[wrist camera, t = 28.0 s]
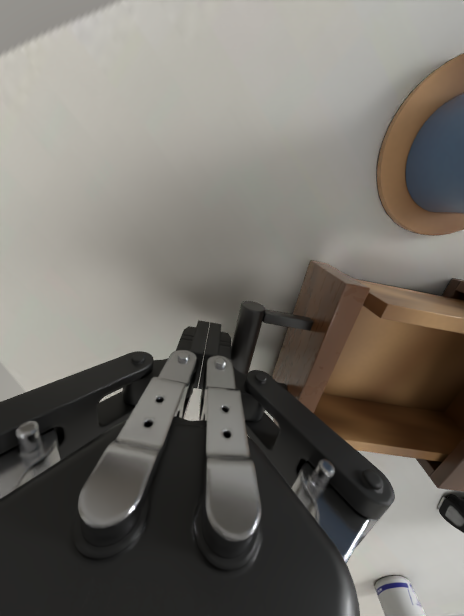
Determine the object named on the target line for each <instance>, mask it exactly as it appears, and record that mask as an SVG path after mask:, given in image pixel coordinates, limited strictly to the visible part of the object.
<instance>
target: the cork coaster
mask: <svg viewBox="0 0 464 616" xmlns="http://www.w3.org/2000/svg"><path fill="white" fill-rule="evenodd" d="M463 92H464V53H463V54H461V55H459V56H457V57H455V58H454V59H452V60H450V61H448V62H447V63H445V64H444V65H442V66H441V67H439V68H438V69H437V70H435V71H434V72H432V73H431V74H430V75H429V76H428V77H426V78H425V79H424V80H423V81H422V82H421V83H420V84H419V85H418V86H417V87H416V88H415V89H414V90H413V91H412V92H411V93H410V95H409V96H408V97H407V99H406V100H405V101H404V102H403V104H402V105H401V107H400V108H399V110H398V111H397V113H396V115H395V116H394V118H393V120H392V122H391V124H390V126H389V128H388V130H387V133H386V135H385V138H384V140H383V143H382V147H381V150H380V154H379V160H378V167H377V185H378V191H379V196H380V199H381V202H382V205H383V207H384V208H385V210H386V212H387V214H388V215H389V216H390V217H391V219H392V220H393V221H394V222H395V223H397V224H398V225H399V226H401V227H402V228H404V229H406V230H408V231H410V232H413V233H417V234H423V235H444V234H450V233H454V232H457V231H460V230H463V229H464V214H444V213H433V212H429V211H427V210H424V209H423V208H421V207H420V206H418V205H417V204H416V203H415V202H414V200H413V199H412V198H411V196H410V194H409V192H408V188H407V185H406V177H405V170H406V162H407V158H408V154H409V151H410V148H411V146H412V143H413V141H414V139H415V137H416V135H417V133H418V132H419V130H420V129H421V127H422V126H423V124H424V123H425V122H426V121H427V119H428V118H429V117H430V116H431V115H432V114H433V113H434V112H435V111H436V110H437V109H438V108H439V107H440V106H441V105H443V104H444V103H445V102H447V101H448V100H450V99H451V98H453V97H455V96H457V95H459V94H461V93H463Z"/></svg>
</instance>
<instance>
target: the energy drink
mask: <svg viewBox="0 0 464 616" xmlns="http://www.w3.org/2000/svg"><path fill="white" fill-rule="evenodd" d="M375 590H376V592H377V595H378V598H379V600H380V603H381V606H382V608H383V611H384V614H385V616H426V614H425V612H424V610H423V608H422V606H421V604H420V602H419V600H418V598H417V595H416V593H415V591H414V589H413V587H412V585H411V583H410V582H409V581H408V580H407V579H406V578H405V577H402V576H389V577H385V578H382V579H380V580H378V581H377V582H376V584H375Z"/></svg>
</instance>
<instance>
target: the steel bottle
mask: <svg viewBox="0 0 464 616" xmlns="http://www.w3.org/2000/svg"><path fill="white" fill-rule="evenodd" d="M405 177H406V185H407V188H408V192H409V194H410V196H411V198H412V199H413V200H414V202H415V203H416V204H417V205H418V206H420V207H421V208H423V209H424V210H427V211H429V212H433V213H444V214H464V92H463V93H461V94H459V95H457V96H455V97H453V98H451V99H450V100H448V101H447V102H445V103H444V104H443V105H441V106H440V107H439V108H438V109H437V110H436V111H435V112H434V113H433V114H432V115H431V116H430V117H429V118H428V119H427V121H426V122H425V123H424V124H423V126H422V127H421V129H420V130H419V132H418V133H417V135H416V137H415V139H414V141H413V143H412V146H411V148H410V151H409V154H408V158H407V162H406V170H405Z"/></svg>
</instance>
